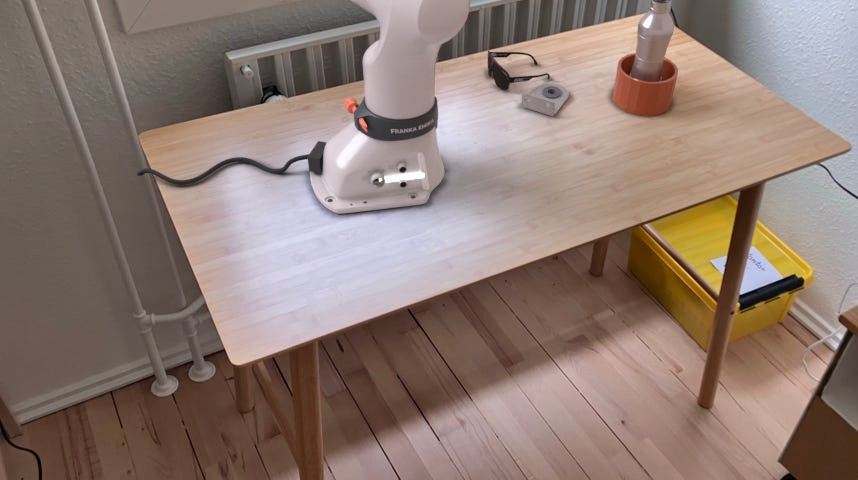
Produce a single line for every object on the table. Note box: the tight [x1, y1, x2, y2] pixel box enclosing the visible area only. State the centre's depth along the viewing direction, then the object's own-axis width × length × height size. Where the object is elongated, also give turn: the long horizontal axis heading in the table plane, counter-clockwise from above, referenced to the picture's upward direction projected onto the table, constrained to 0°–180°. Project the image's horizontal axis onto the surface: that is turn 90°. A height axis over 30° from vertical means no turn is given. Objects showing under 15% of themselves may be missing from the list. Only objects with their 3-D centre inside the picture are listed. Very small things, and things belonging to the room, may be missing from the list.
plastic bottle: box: [629, 0, 675, 82], centre depth 154 cm, size 6×7×20 cm
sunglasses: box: [487, 50, 551, 91], centre depth 165 cm, size 10×12×5 cm
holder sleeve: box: [612, 52, 679, 117], centre depth 159 cm, size 11×11×7 cm
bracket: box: [521, 82, 570, 117], centre depth 159 cm, size 7×10×4 cm, turn 153°
